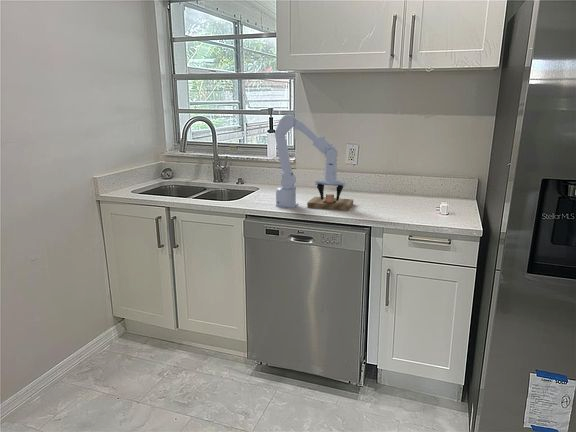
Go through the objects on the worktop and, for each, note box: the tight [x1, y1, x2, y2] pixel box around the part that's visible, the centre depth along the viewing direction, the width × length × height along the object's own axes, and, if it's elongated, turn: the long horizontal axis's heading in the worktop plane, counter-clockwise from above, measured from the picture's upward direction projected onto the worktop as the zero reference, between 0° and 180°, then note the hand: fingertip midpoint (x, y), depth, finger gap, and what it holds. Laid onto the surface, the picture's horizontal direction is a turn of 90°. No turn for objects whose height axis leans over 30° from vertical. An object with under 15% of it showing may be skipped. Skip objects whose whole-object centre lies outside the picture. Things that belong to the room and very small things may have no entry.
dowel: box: [325, 193, 335, 203], centre depth 208 cm, size 4×4×6 cm
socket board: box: [306, 196, 354, 212], centre depth 211 cm, size 20×14×2 cm
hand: (329, 199), depth 208 cm, fingers open, 7 cm apart
